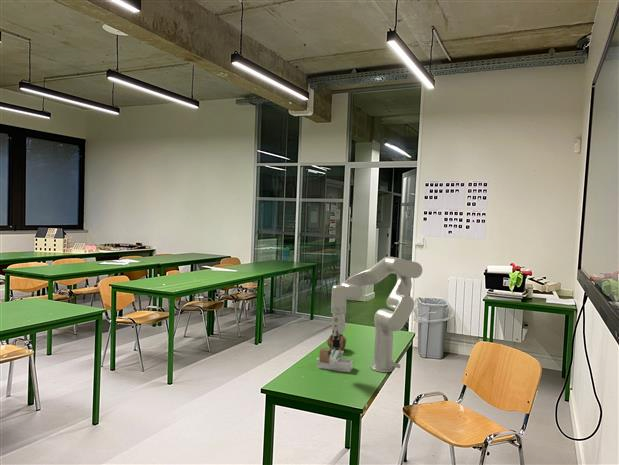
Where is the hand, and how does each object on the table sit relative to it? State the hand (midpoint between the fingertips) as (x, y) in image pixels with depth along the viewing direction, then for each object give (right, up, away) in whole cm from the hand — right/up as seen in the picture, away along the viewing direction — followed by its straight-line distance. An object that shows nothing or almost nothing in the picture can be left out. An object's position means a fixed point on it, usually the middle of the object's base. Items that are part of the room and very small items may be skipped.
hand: (337, 345), depth 220 cm
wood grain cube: (0, -1, 0) cm, 1 cm away
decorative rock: (+2, -14, +43) cm, 45 cm away
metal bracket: (-1, -15, +26) cm, 30 cm away
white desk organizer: (0, -15, +11) cm, 18 cm away
